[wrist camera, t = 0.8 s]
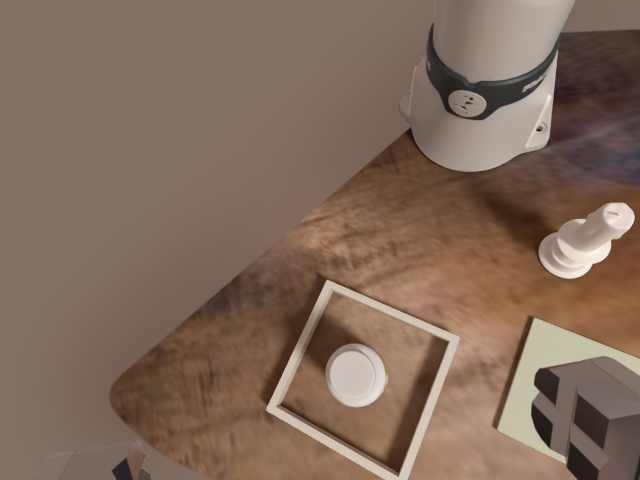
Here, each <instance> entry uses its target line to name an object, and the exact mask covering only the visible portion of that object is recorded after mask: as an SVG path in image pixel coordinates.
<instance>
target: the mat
mask: <svg viewBox="0 0 640 480" xmlns="http://www.w3.org/2000/svg"><path fill="white" fill-rule="evenodd" d="M600 356H606V357H610V358H613V359H615V360H616V361H618V362H620V363H621V364H623V365H624V366H626V367H627V368H629V369H630V370H632V371H633V372H635V373H636V374H638V375H639V376H640V359H639V358H636V357H634V356H631V355H628V354H626V353H623V352H621V351H618V350H616V349H613V348H611V347H608V346H606V345H603V344H600V343H598V342H595V341H593V340H590V339H588V338H585V337H583V336H580V335H578V334H575V333H572V332H570V331H567V330H565V329H562V328H560V327H557V326H555V325H552V324H550V323H547V322H544V321H542V320H539V319H537V318H533V320H532V323H531V326H530V329H529V332H528V335H527V338H526V341H525V344H524V347H523V350H522V353H521V356H520V359H519V362H518V365H517V368H516V371H515V374H514V377H513V380H512V383H511V386H510V389H509V392H508V395H507V398H506V401H505V404H504V407H503V410H502V413H501V416H500V419H499V422H498V425H497V428H496V430H498V431H500V432H502V433H504V434H506V435H508V436H510V437H512V438H514V439H516V440H518V441H520V442H522V443H524V444H526V445H528V446H530V447H532V448H534V449H536V450H539V451H541V452H543V453H545V454H547V455H549V456H551V457H553V458H555V459H557V460H559V461H561V462H563V463H565V464H566V460H565V457H564V456H562V455H560V454H558V453H556V452H554V451H553V450H551V449H549V448H548V446H547V445H546V444H545V443H544V442H543V441H542V440H541V438H540V436H539V435H538V433H537V431H536V430H535V427H534V424H533V421H532V417H531V405H532V401H533V400H534V398H535V397H536V396H537V394H538V393H539V391H538V390H537V388H536V387H535V386H534V379H535V374H536V372H537V371H538V369H539V368H544V367H550V366H555V365H561V364H566V363H571V362H577V361H582V360H585V359H590V358H595V357H600Z"/></svg>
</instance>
